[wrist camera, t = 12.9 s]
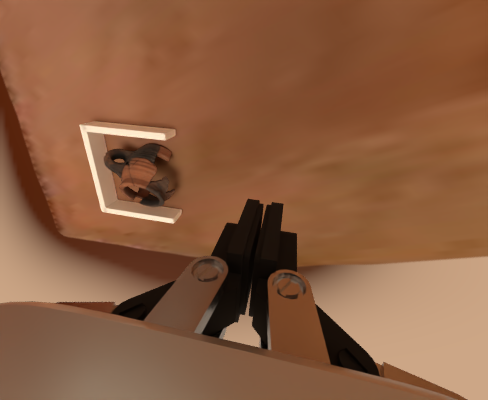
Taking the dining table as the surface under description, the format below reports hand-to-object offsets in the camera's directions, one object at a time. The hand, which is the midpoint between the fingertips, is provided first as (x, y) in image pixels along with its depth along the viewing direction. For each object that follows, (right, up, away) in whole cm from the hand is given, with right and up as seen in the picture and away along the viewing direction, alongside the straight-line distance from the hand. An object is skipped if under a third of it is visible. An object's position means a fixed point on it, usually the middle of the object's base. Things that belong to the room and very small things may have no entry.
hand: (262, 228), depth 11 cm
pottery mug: (-17, +7, +31) cm, 37 cm away
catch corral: (-19, +7, +32) cm, 38 cm away
